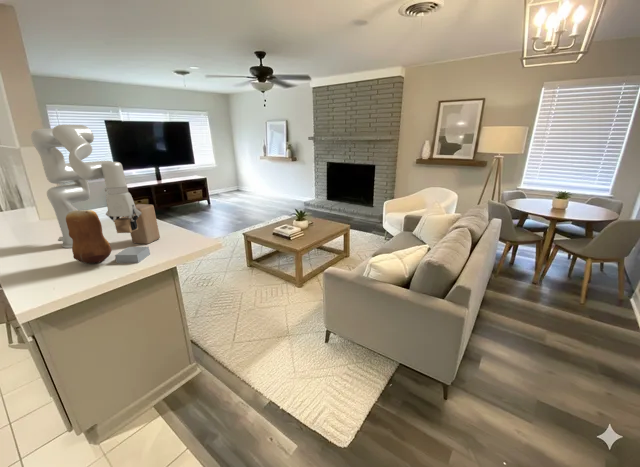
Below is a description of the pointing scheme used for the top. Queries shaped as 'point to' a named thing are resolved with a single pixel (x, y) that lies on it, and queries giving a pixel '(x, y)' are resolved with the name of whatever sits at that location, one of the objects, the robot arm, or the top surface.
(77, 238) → the butternut squash
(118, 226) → the walnut cube
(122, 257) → the pedestal
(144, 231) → the block
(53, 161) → the robot arm
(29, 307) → the top surface
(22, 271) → the top surface
